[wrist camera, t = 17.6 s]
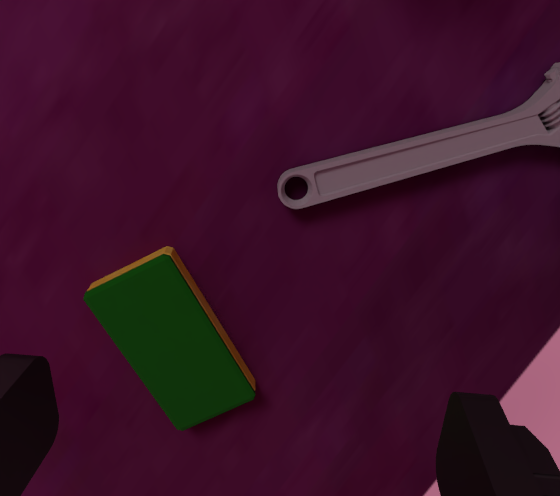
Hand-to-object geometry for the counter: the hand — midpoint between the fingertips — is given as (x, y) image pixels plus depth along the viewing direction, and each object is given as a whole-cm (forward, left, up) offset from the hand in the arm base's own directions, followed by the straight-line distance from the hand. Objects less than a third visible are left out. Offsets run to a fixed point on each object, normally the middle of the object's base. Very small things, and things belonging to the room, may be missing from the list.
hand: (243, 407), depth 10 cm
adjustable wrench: (-14, -1, -26) cm, 30 cm away
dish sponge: (+7, +14, -27) cm, 31 cm away
